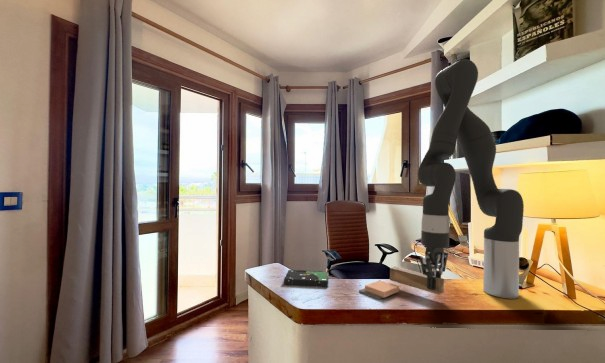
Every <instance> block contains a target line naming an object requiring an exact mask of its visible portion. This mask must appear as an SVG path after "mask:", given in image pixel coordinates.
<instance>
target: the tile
mask: <svg viewBox="0 0 605 363" xmlns="http://www.w3.org/2000/svg"><path fill="white" fill-rule="evenodd" d="M364 288H365V291H367V292H370V293H373V294H376V295H378V296H381V297H384V298H387V297H389V296H391V295H394V294H396V293H398V292H400V286H399V285H396V284H393V283H389V282H386V281H383V280H377V281H374V282H372V283H368V284H365V285H364ZM384 298H383V299H384Z"/></svg>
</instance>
